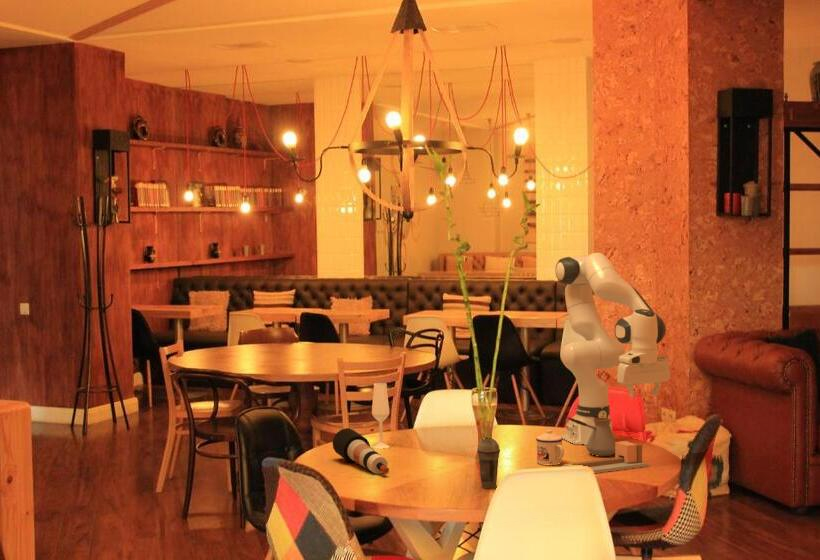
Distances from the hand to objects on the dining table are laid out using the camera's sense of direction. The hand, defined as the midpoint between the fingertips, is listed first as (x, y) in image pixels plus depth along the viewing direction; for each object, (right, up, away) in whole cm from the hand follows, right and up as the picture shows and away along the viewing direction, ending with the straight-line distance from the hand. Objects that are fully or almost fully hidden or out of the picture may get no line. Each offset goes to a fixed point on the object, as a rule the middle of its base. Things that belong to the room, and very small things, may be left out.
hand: (643, 395), depth 365 cm
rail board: (-15, -24, -8) cm, 29 cm away
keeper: (-7, -22, -5) cm, 23 cm away
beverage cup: (-57, -25, -33) cm, 70 cm away
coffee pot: (-17, -23, +9) cm, 30 cm away
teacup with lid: (-32, -24, -2) cm, 40 cm away
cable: (-97, -25, -3) cm, 100 cm away
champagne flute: (-93, -23, +31) cm, 100 cm away
